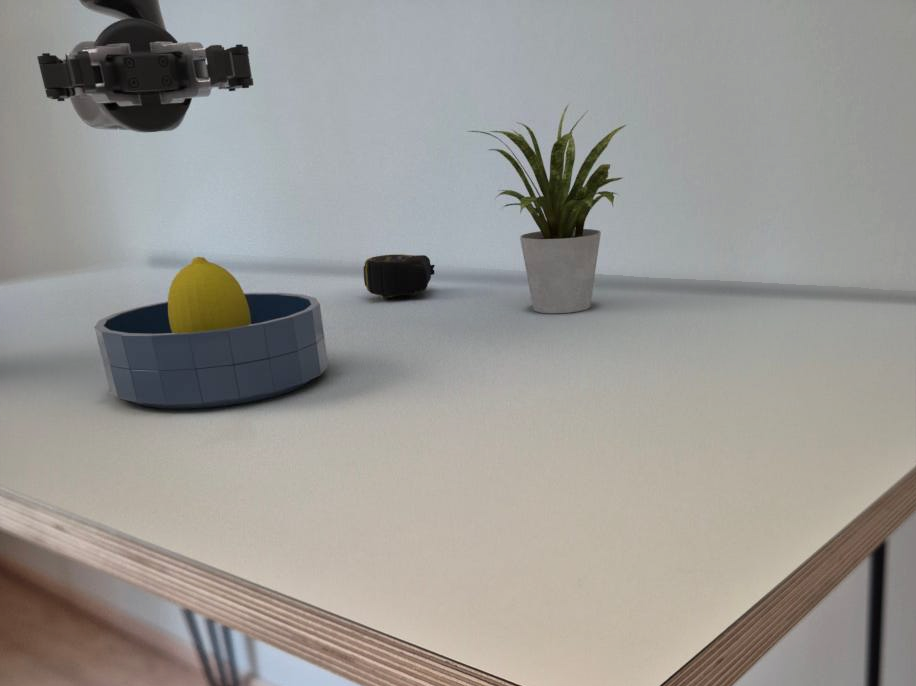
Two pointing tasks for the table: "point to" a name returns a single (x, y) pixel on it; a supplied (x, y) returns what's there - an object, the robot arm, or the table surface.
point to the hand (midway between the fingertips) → (155, 67)
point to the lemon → (206, 299)
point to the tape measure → (397, 274)
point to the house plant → (560, 222)
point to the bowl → (213, 354)
